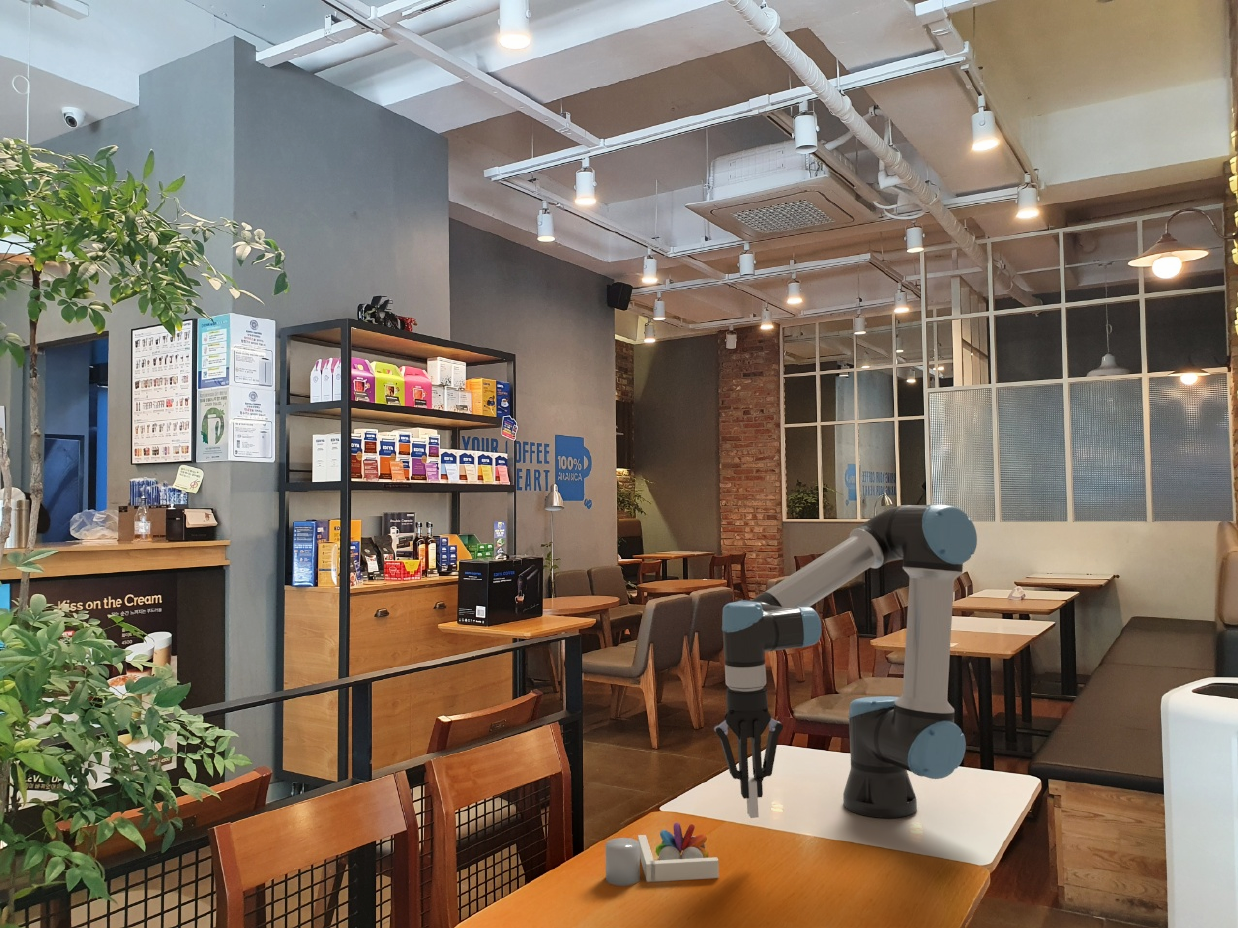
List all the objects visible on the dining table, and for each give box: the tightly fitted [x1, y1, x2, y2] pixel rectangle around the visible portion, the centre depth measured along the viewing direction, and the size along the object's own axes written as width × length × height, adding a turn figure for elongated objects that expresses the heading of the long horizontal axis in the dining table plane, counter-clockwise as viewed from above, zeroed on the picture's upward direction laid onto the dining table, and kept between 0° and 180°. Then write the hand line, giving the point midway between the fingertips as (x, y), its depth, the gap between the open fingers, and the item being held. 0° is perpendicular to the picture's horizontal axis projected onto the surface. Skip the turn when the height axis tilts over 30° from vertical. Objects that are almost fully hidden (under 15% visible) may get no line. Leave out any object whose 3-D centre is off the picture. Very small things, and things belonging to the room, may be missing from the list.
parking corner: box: [637, 834, 720, 883], centre depth 167 cm, size 13×14×3 cm
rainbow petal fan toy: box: [655, 822, 709, 860], centre depth 168 cm, size 8×10×7 cm
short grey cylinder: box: [604, 837, 641, 887], centre depth 161 cm, size 6×6×6 cm
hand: (752, 814), depth 169 cm, fingers closed
